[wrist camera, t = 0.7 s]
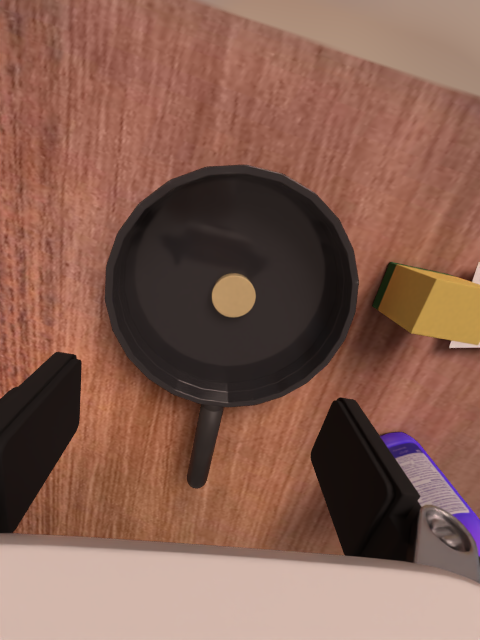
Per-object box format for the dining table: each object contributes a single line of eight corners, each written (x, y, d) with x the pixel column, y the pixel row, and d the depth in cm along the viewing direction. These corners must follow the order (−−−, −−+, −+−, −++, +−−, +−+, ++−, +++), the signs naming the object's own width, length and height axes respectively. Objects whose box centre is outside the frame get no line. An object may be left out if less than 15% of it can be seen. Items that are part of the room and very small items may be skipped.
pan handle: (203, 385, 25) (202, 400, 24) (226, 388, 26) (226, 403, 24) (186, 474, 29) (184, 492, 28) (206, 475, 30) (205, 494, 28)
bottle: (358, 477, 34) (484, 729, 18) (342, 446, 32) (469, 700, 16) (418, 453, 33) (607, 695, 17) (406, 419, 31) (610, 660, 15)
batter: (215, 269, 22) (215, 271, 22) (259, 277, 23) (260, 280, 22) (208, 310, 24) (208, 314, 23) (249, 317, 24) (250, 321, 23)
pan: (128, 142, 19) (110, 131, 16) (371, 201, 22) (398, 202, 19) (115, 368, 26) (101, 391, 23) (304, 393, 28) (314, 418, 25)
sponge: (389, 261, 24) (436, 278, 19) (447, 274, 25) (508, 293, 19) (371, 306, 25) (410, 333, 20) (426, 316, 26) (478, 345, 21)
